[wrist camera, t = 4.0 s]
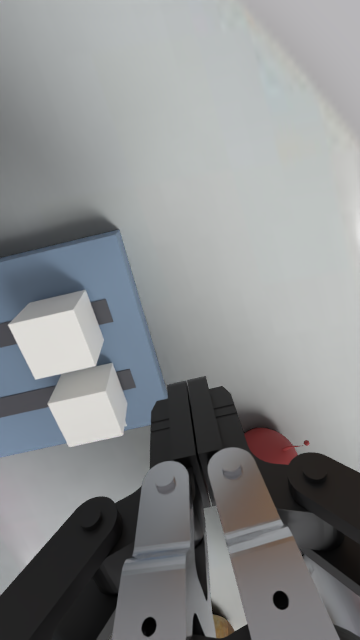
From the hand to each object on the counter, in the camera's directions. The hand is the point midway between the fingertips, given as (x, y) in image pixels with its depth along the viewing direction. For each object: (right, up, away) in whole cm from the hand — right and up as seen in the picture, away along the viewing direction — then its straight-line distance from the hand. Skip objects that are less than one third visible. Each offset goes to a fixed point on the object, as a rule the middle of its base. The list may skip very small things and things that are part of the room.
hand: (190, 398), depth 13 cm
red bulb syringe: (+8, -8, +20) cm, 23 cm away
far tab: (-7, -2, +13) cm, 15 cm away
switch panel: (-13, 0, +14) cm, 19 cm away
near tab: (-8, +3, +11) cm, 14 cm away
